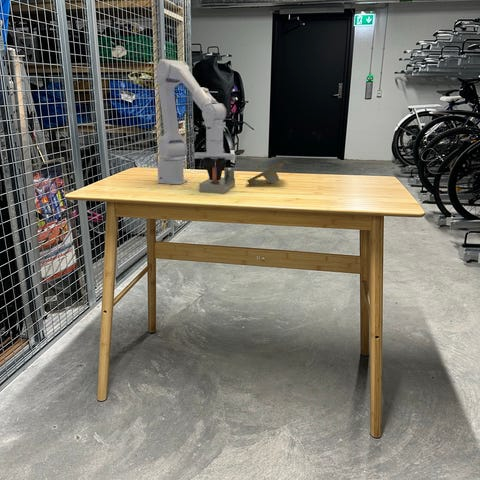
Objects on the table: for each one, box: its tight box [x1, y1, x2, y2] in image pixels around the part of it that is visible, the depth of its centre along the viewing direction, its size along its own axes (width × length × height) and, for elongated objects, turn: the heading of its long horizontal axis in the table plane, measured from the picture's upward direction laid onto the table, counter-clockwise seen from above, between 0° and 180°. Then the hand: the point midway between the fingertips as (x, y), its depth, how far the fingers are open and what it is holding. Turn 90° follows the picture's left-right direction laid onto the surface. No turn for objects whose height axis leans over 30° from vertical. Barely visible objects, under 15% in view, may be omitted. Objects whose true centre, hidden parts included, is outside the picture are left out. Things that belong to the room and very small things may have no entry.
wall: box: [246, 162, 284, 184], centre depth 163 cm, size 16×9×15 cm
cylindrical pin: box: [212, 166, 218, 183], centre depth 149 cm, size 2×2×6 cm
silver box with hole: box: [198, 167, 236, 195], centre depth 152 cm, size 9×14×7 cm, turn 165°
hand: (215, 179), depth 149 cm, fingers closed on cylindrical pin, 2 cm apart
